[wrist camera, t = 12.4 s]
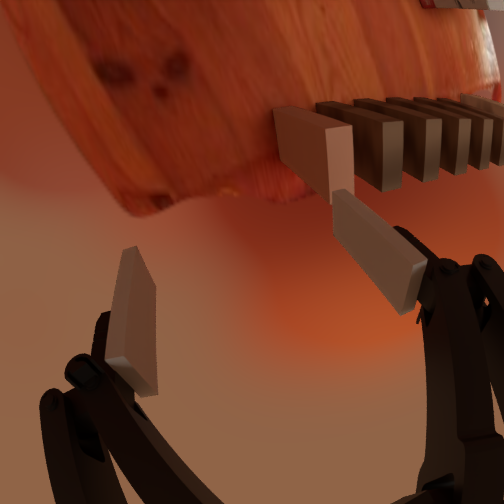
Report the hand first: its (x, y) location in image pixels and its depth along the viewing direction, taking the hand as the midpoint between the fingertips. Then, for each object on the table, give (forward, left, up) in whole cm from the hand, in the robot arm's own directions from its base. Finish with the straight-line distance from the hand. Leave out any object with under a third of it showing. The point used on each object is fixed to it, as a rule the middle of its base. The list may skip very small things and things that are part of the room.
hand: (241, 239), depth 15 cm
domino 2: (0, +14, -18) cm, 23 cm away
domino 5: (0, +29, -18) cm, 34 cm away
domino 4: (0, +24, -18) cm, 30 cm away
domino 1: (0, +9, -18) cm, 20 cm away
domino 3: (0, +19, -18) cm, 26 cm away
